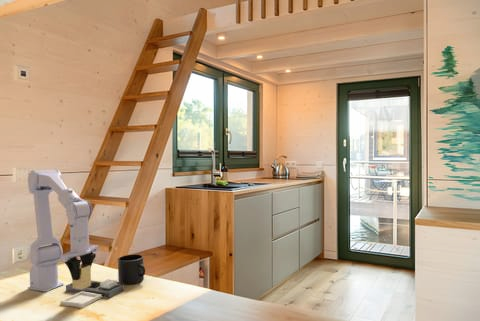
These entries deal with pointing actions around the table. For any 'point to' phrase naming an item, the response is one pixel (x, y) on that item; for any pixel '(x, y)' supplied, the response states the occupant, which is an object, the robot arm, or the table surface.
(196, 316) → the table surface
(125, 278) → the mug
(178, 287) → the table surface
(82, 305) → the parts tray
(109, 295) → the rail
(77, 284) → the wooden block
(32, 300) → the table surface
